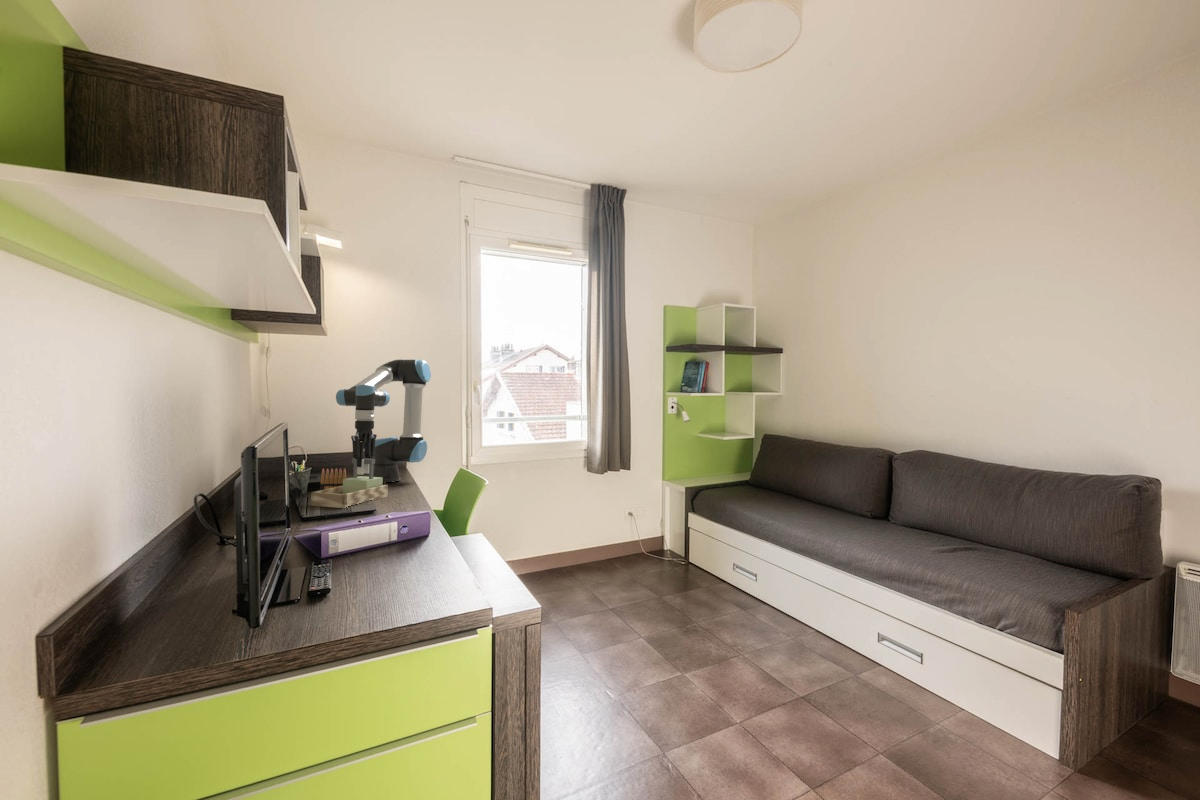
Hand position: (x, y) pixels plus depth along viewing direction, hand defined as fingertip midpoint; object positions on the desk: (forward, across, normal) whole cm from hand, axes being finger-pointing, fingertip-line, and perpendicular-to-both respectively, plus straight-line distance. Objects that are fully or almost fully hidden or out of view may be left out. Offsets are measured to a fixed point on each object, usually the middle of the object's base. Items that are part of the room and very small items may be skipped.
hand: (363, 473), depth 215 cm
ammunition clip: (+11, +2, +17) cm, 20 cm away
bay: (+11, -7, 0) cm, 13 cm away
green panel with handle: (+9, 0, 0) cm, 9 cm away
